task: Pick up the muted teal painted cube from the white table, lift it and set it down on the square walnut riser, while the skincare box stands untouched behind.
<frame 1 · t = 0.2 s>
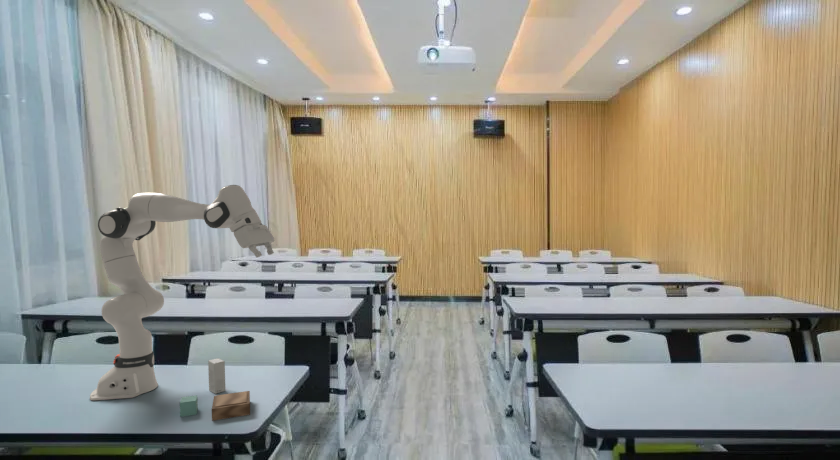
hand: (265, 255, 172), 54 cm above the table, tool tilted 30°, fingers open, 8 cm apart
skincare box: (217, 391, 179), on the table
walnut riser: (231, 410, 161), on the table
teal cube: (189, 412, 159), on the table
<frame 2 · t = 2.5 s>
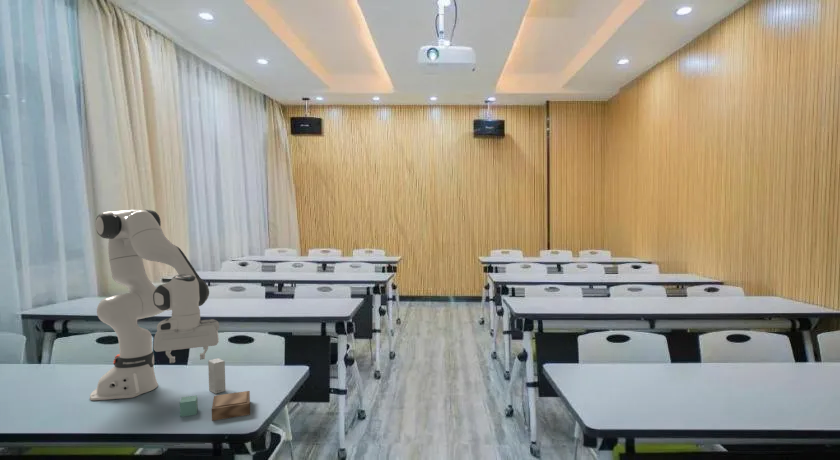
hand: (187, 360, 159), 18 cm above the table, tool pointing down, fingers open, 8 cm apart
nothing on the table moved.
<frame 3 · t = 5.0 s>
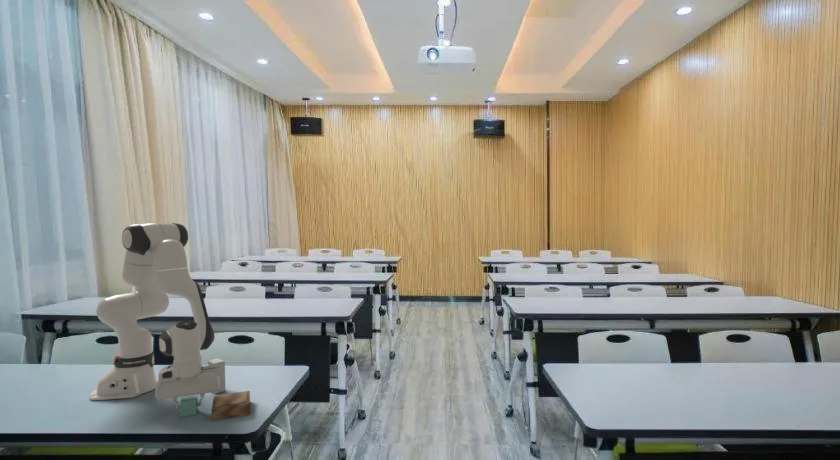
hand: (188, 407, 159), 2 cm above the table, tool pointing down, fingers closed on teal cube, 5 cm apart
teal cube: (189, 412, 159), on the table, touching gripper
everything else where it was.
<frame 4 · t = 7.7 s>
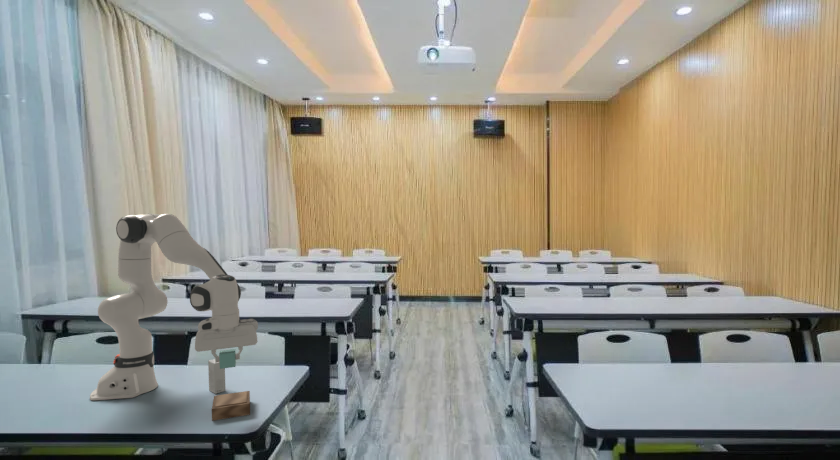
hand: (227, 360, 159), 18 cm above the table, tool pointing down, fingers closed on teal cube, 5 cm apart
teal cube: (228, 365, 159), point 16 cm above the table, touching gripper
everything else where it was.
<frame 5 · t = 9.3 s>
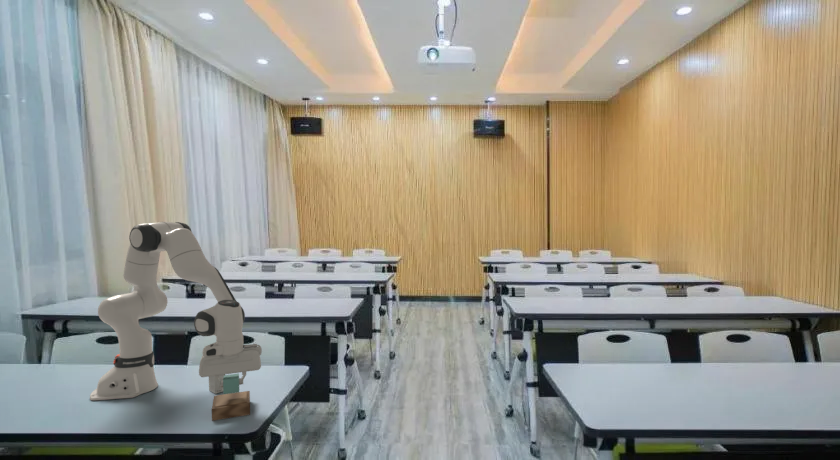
hand: (231, 385, 160), 9 cm above the table, tool pointing down, fingers closed on teal cube, 5 cm apart
teal cube: (231, 390, 160), point 7 cm above the table, touching gripper
everything else where it was.
when the fingers open (7 cm above the table, at t = 10.5 s): teal cube drops 1 cm, resting on walnut riser.
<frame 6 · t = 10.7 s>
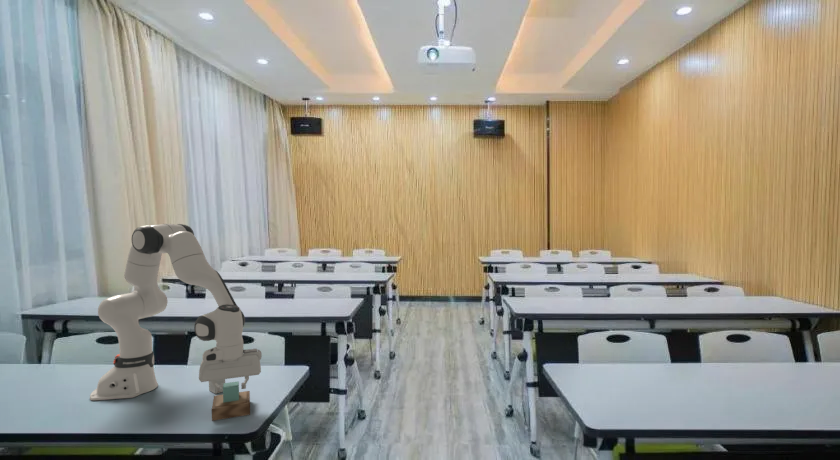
hand: (231, 390, 160), 7 cm above the table, tool pointing down, fingers open, 7 cm apart
teal cube: (231, 398, 160), point 4 cm above the table, touching walnut riser
everything else where it was.
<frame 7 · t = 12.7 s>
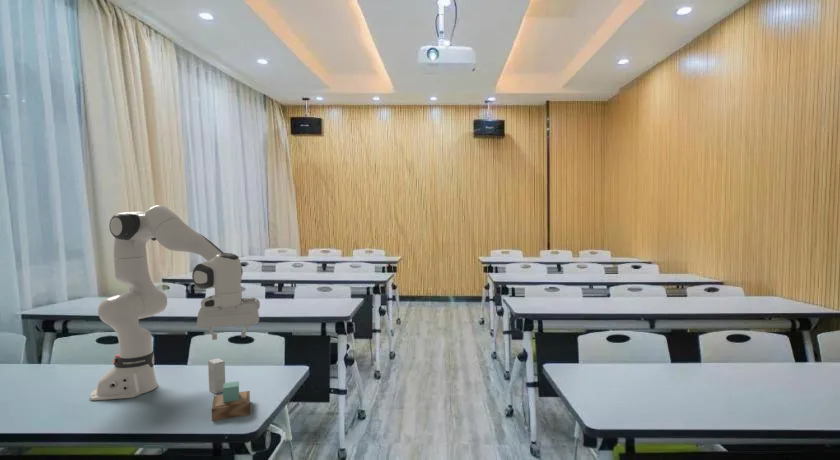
hand: (229, 338, 161), 26 cm above the table, tool pointing down, fingers open, 8 cm apart
nothing on the table moved.
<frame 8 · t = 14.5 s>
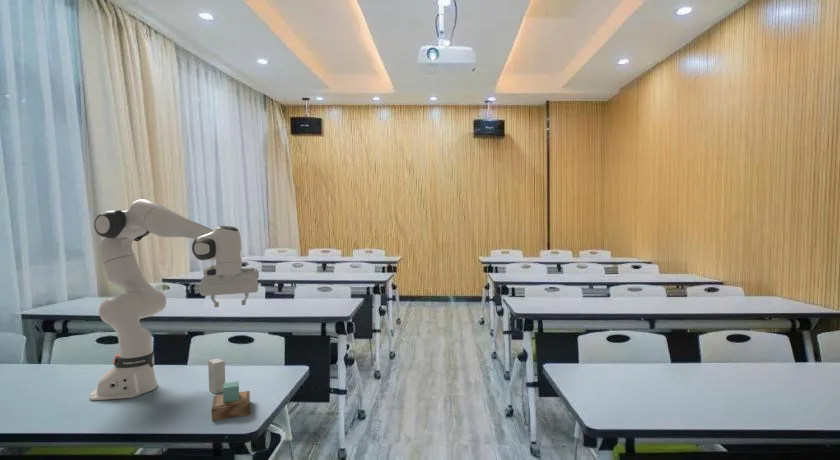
hand: (230, 305, 171), 35 cm above the table, tool pointing down, fingers open, 8 cm apart
nothing on the table moved.
at the end: teal cube inside the target area on the walnut riser (0.1 cm from its centre), point 4.3 cm above the walnut riser's base; the gripper is holding nothing; skincare box moved 0.2 cm from its start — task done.
